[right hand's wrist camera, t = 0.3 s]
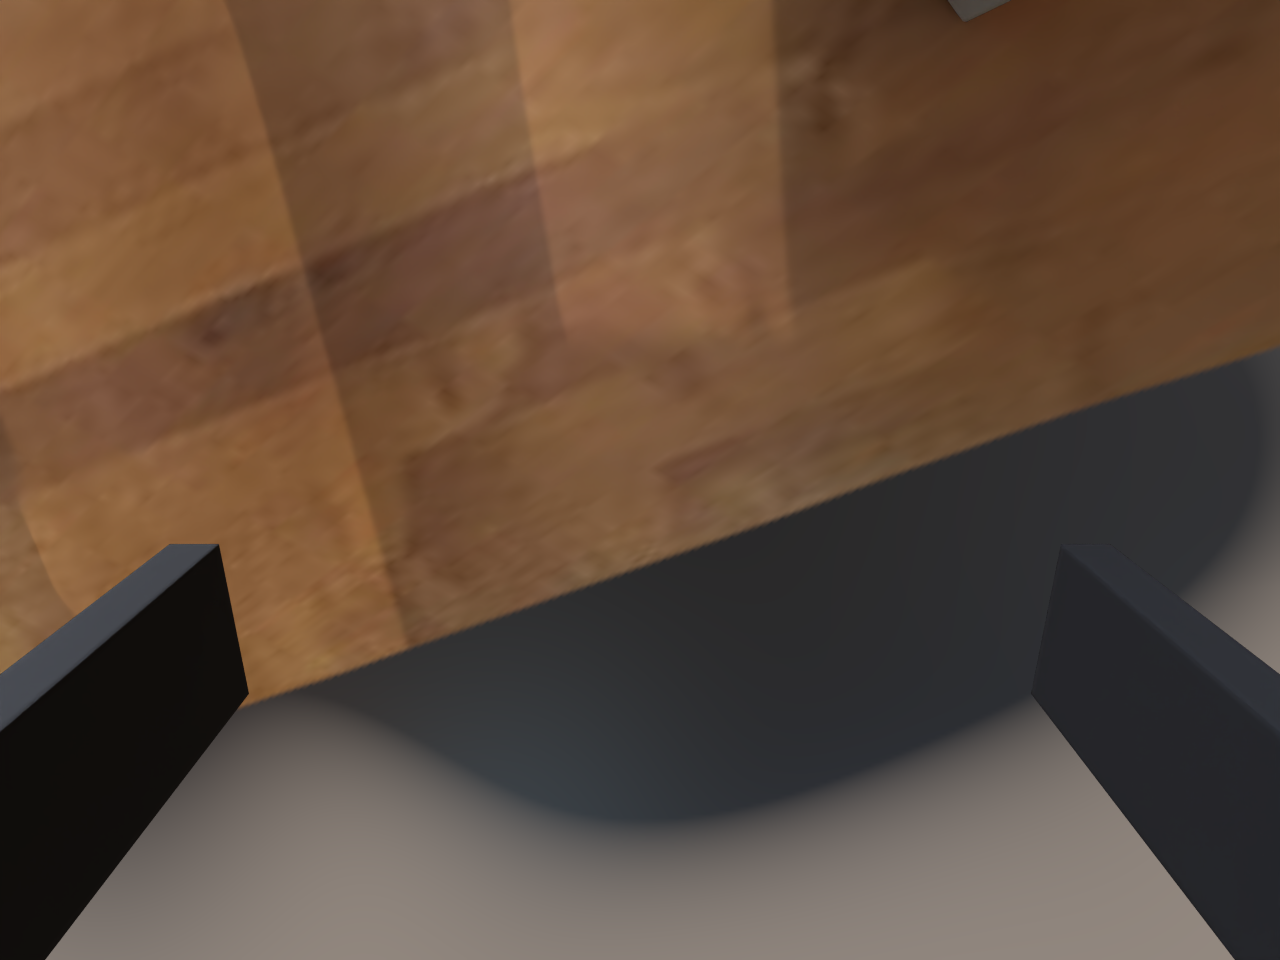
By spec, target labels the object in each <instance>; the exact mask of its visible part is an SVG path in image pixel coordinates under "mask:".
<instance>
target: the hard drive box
mask: <svg viewBox="0 0 1280 960" xmlns="http://www.w3.org/2000/svg"><path fill="white" fill-rule="evenodd" d="M1008 1H1010V0H948V2H949V3H950V4H951V6H952V7H953V9H954V10H955V12H956V13H957V14H958V16H959V17H960V18H961V19H962V21H965V22H968V21H969V20H971V19H973V18H975V17H977V16H979V15H982V14H984V13H986V12H988V11H990V10H992V9H994V8H996V7H998V6H1000V5H1003V4H1005V3H1007V2H1008Z"/></svg>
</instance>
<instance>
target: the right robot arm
mask: <svg viewBox="0 0 1280 960" xmlns="http://www.w3.org/2000/svg"><path fill="white" fill-rule="evenodd" d="M248 694H249V692H248V687H247V682H246V677H245V672H244V667H243V662H242V657H241V652H240V647H239V642H238V637H237V632H236V627H235V622H234V617H233V612H232V607H231V602H230V597H229V592H228V587H227V582H226V577H225V572H224V567H223V562H222V557H221V552H220V547H219V544H169V545H168V546H167V547H165V548H164V549H163V550H161V551H160V552H159V553H158V554H156V555H155V556H154V557H152V558H151V559H150V560H148V561H147V562H146V563H145V564H143V565H142V566H141V567H139V568H138V569H137V570H135V571H134V572H133V573H132V574H130V575H129V576H128V577H126V578H125V579H124V580H122V581H121V582H120V583H119V584H117V585H116V586H115V587H113V588H112V589H111V590H109V591H108V592H107V593H106V594H104V595H103V596H102V597H100V598H99V599H98V600H96V601H95V602H94V603H92V604H91V605H90V606H89V607H87V608H86V609H85V610H83V611H82V612H81V613H79V614H78V615H77V616H76V617H74V618H73V619H72V620H70V621H69V622H68V623H66V624H65V625H64V626H63V627H61V628H60V629H59V630H57V631H56V632H55V633H53V634H52V635H51V636H50V637H48V638H47V639H46V640H44V641H43V642H42V643H40V644H39V645H38V646H37V647H35V648H34V649H33V650H31V651H30V652H29V653H27V654H26V655H25V656H24V657H22V658H21V659H20V660H18V661H17V662H16V663H14V664H13V665H12V666H10V667H9V668H8V669H7V670H5V671H4V672H3V673H1V674H0V960H45V959H46V958H47V957H48V955H49V954H50V953H51V951H52V950H53V949H54V947H55V946H56V945H57V944H58V942H59V941H60V940H61V938H62V937H63V936H64V934H65V933H66V932H67V930H68V929H69V928H70V927H71V925H72V924H73V923H74V921H75V920H76V919H77V917H78V916H79V915H80V914H81V912H82V911H83V910H84V908H85V907H86V906H87V904H88V903H89V902H90V900H91V899H92V898H93V897H94V895H95V894H96V893H97V891H98V890H99V889H100V887H101V886H102V885H103V884H104V882H105V881H106V880H107V878H108V877H109V876H110V874H111V873H112V872H113V870H114V869H115V868H116V866H117V865H118V864H119V863H120V861H121V860H122V859H123V857H124V856H125V855H126V853H127V852H128V851H129V850H130V848H131V847H132V846H133V844H134V843H135V842H136V840H137V839H138V838H139V836H140V835H141V834H142V833H143V831H144V830H145V829H146V827H147V826H148V825H149V823H150V822H151V821H152V820H153V818H154V817H155V816H156V814H157V813H158V812H159V810H160V809H161V808H162V806H163V805H164V804H165V802H166V801H167V800H168V799H169V797H170V796H171V795H172V793H173V792H174V791H175V789H176V788H177V787H178V786H179V784H180V783H181V782H182V780H183V779H184V778H185V776H186V775H187V774H188V772H189V771H190V770H191V769H192V767H193V766H194V765H195V763H196V762H197V761H198V759H199V758H200V757H201V755H202V754H203V753H204V752H205V750H206V749H207V748H208V746H209V745H210V744H211V742H212V741H213V740H214V739H215V737H216V736H217V735H218V733H219V732H220V731H221V729H222V728H223V727H224V725H225V724H226V723H227V722H228V720H229V719H230V718H231V716H232V715H233V714H234V712H235V711H236V710H237V709H238V707H239V706H240V705H241V703H242V702H243V701H244V699H245V698H246V697H247V695H248ZM1031 694H1032V695H1033V697H1034V698H1035V699H1036V701H1037V702H1038V703H1039V705H1040V706H1041V707H1042V709H1043V710H1044V711H1045V712H1046V714H1047V715H1048V716H1049V718H1050V719H1051V720H1052V722H1053V723H1054V724H1055V725H1056V727H1057V728H1058V729H1059V731H1060V732H1061V733H1062V735H1063V736H1064V737H1065V739H1066V740H1067V741H1068V742H1069V744H1070V745H1071V746H1072V748H1073V749H1074V750H1075V751H1076V753H1077V754H1078V756H1079V757H1080V758H1081V759H1082V761H1083V762H1084V763H1085V765H1086V766H1087V767H1088V768H1089V770H1090V771H1091V773H1092V774H1093V775H1094V776H1095V778H1096V779H1097V780H1098V782H1099V783H1100V784H1101V786H1102V787H1103V788H1104V789H1105V791H1106V792H1107V793H1108V795H1109V796H1110V797H1111V799H1112V800H1113V801H1114V803H1115V804H1116V805H1117V806H1118V808H1119V809H1120V810H1121V812H1122V813H1123V814H1124V816H1125V817H1126V818H1127V819H1128V821H1129V822H1130V823H1131V825H1132V826H1133V827H1134V829H1135V830H1136V831H1137V833H1138V834H1139V835H1140V837H1141V838H1142V839H1143V840H1144V842H1145V843H1146V844H1147V846H1148V847H1149V848H1150V849H1151V851H1152V852H1153V853H1154V855H1155V856H1156V857H1157V859H1158V860H1159V861H1160V863H1161V864H1162V865H1163V866H1164V868H1165V869H1166V870H1167V872H1168V873H1169V874H1170V876H1171V877H1172V878H1173V880H1174V881H1175V882H1176V883H1177V885H1178V886H1179V887H1180V889H1181V890H1182V891H1183V893H1184V894H1185V895H1186V897H1187V898H1188V899H1189V900H1190V902H1191V903H1192V904H1193V906H1194V907H1195V908H1196V910H1197V911H1198V912H1199V914H1200V915H1201V916H1202V917H1203V919H1204V920H1205V921H1206V923H1207V924H1208V925H1209V927H1210V928H1211V929H1212V930H1213V932H1214V933H1215V934H1216V936H1217V937H1218V938H1219V940H1220V941H1221V942H1222V944H1223V945H1224V946H1225V947H1226V949H1227V950H1228V951H1229V953H1230V954H1231V955H1232V957H1233V958H1234V959H1235V960H1280V674H1279V673H1277V672H1276V671H1275V670H1273V669H1272V668H1271V667H1269V666H1268V665H1267V664H1266V663H1264V662H1263V661H1262V660H1260V659H1259V658H1258V657H1256V656H1255V655H1254V654H1253V653H1251V652H1250V651H1249V650H1247V649H1246V648H1245V647H1243V646H1242V645H1241V644H1239V643H1238V642H1237V641H1236V640H1234V639H1233V638H1232V637H1230V636H1229V635H1228V634H1227V633H1225V632H1224V631H1223V630H1221V629H1220V628H1219V627H1217V626H1216V625H1215V624H1213V623H1212V622H1211V621H1210V620H1208V619H1207V618H1206V617H1204V616H1203V615H1202V614H1201V613H1199V612H1198V611H1197V610H1195V609H1194V608H1193V607H1191V606H1190V605H1189V604H1187V603H1186V602H1185V601H1184V600H1182V599H1181V598H1180V597H1178V596H1177V595H1176V594H1174V593H1173V592H1172V591H1171V590H1169V589H1168V588H1167V587H1165V586H1164V585H1163V584H1161V583H1160V582H1159V581H1158V580H1156V579H1155V578H1154V577H1152V576H1151V575H1150V574H1148V573H1147V572H1146V571H1145V570H1143V569H1142V568H1141V567H1139V566H1138V565H1137V564H1135V563H1134V562H1133V561H1132V560H1130V559H1129V558H1128V557H1126V556H1125V555H1124V554H1122V553H1121V552H1120V551H1118V550H1117V549H1116V548H1115V547H1113V546H1112V545H1111V544H1061V547H1060V552H1059V557H1058V562H1057V567H1056V573H1055V578H1054V582H1053V587H1052V592H1051V597H1050V602H1049V607H1048V612H1047V617H1046V622H1045V627H1044V632H1043V637H1042V642H1041V647H1040V652H1039V657H1038V662H1037V667H1036V672H1035V677H1034V682H1033V687H1032V692H1031Z"/></svg>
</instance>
